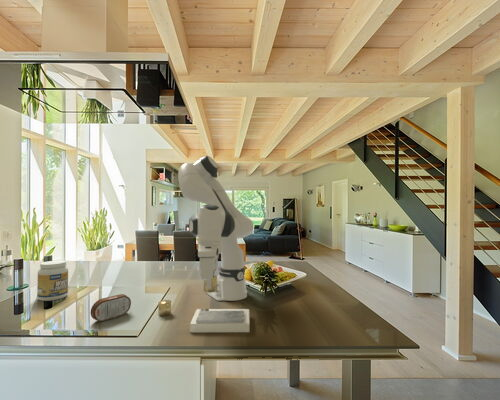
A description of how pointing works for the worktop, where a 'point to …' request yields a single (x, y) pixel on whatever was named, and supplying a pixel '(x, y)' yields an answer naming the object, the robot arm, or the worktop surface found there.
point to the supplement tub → (52, 280)
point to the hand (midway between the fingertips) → (210, 285)
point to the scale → (220, 320)
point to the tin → (110, 307)
